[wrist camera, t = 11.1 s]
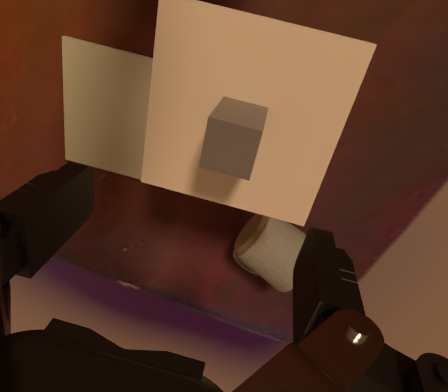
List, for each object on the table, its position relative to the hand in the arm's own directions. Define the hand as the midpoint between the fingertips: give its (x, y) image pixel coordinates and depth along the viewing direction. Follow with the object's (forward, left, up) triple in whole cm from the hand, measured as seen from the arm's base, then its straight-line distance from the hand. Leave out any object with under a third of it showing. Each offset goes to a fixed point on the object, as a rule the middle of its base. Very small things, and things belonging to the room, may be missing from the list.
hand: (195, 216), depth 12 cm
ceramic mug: (+20, +7, -28) cm, 35 cm away
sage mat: (+8, -14, -28) cm, 33 cm away
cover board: (0, 0, -13) cm, 13 cm away
